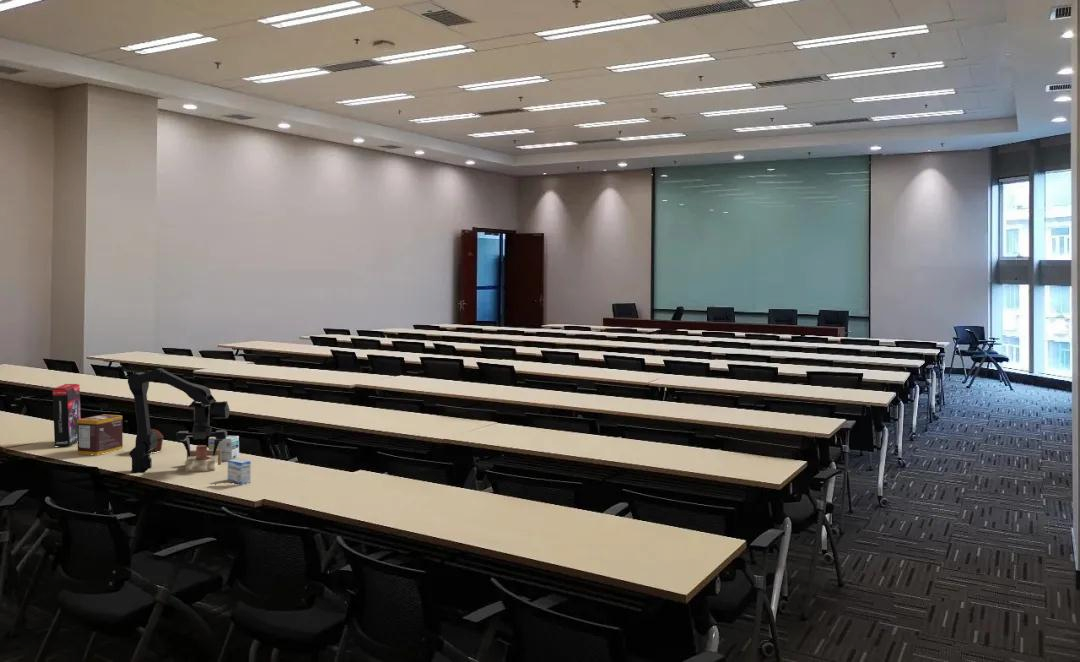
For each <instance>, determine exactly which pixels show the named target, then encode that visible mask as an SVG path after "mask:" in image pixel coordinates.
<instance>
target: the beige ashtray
mask: <svg viewBox="0 0 1080 662" xmlns="http://www.w3.org/2000/svg"><path fill="white" fill-rule="evenodd" d="M217 467H218V455H215V456H213V455H207V460H196V456H190V457H188V459H187V458H186V460H185V461H184V472H185V473H187V472H211V471H215V470H216V469H217Z"/></svg>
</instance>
